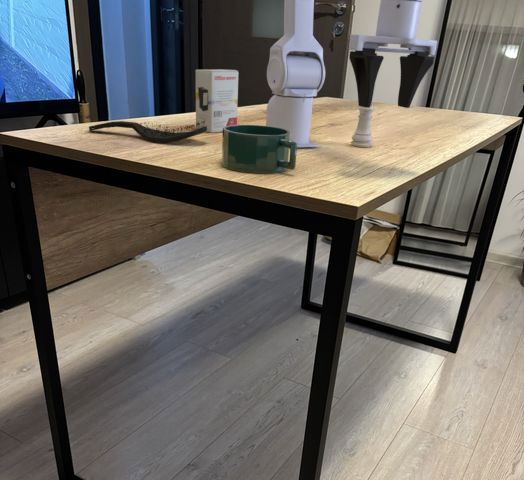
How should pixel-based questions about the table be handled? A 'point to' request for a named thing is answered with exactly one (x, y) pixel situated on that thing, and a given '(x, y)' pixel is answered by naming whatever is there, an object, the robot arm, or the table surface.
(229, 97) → the ink box
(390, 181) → the table surface
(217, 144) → the table surface
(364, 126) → the rook chess piece
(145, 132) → the hairbrush
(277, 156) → the green coffee mug
